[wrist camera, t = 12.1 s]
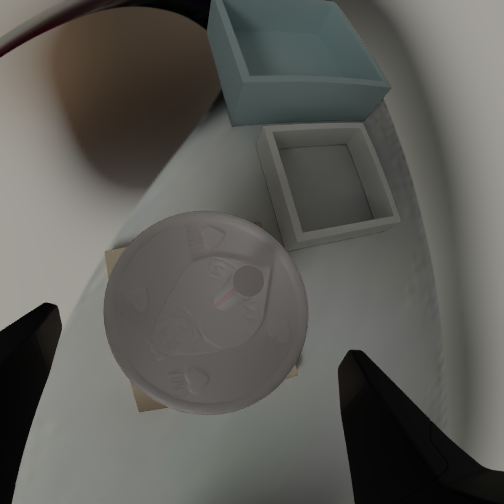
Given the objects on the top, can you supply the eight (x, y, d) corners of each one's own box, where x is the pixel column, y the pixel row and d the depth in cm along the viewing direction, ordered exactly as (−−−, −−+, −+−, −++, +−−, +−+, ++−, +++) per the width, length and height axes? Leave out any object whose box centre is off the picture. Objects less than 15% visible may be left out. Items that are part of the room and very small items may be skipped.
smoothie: (273, 330, 19) (439, 328, 6) (187, 393, 17) (188, 535, 4) (211, 245, 20) (259, 84, 6) (124, 304, 18) (-13, 248, 4)
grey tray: (382, 231, 23) (401, 221, 21) (285, 251, 21) (297, 242, 19) (349, 138, 25) (363, 122, 22) (255, 145, 23) (263, 126, 20)
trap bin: (364, 120, 26) (391, 87, 21) (232, 126, 23) (242, 82, 18) (319, 35, 28) (335, 2, 23) (206, 33, 25) (212, -7, 20)
